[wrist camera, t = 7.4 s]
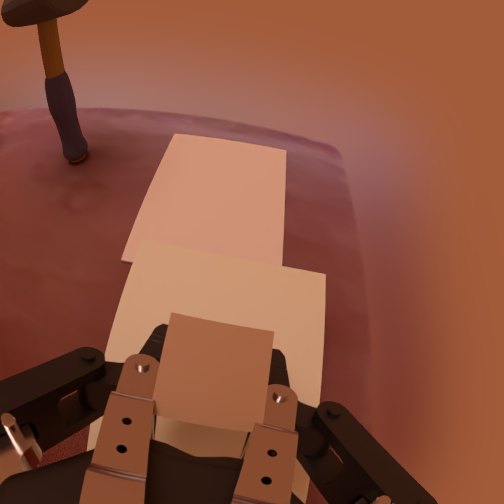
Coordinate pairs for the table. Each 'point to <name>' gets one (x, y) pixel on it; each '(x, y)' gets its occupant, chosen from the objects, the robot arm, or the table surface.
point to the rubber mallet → (52, 65)
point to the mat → (215, 200)
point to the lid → (219, 343)
